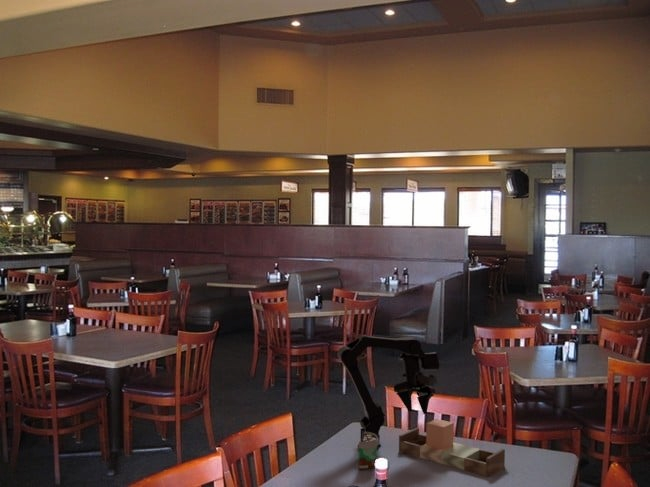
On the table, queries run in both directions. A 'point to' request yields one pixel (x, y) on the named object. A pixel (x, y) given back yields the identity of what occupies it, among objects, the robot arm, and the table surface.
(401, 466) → the table surface
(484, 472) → the track
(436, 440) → the terracotta block
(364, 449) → the food container
